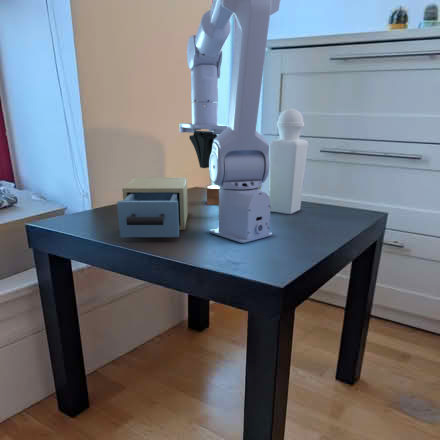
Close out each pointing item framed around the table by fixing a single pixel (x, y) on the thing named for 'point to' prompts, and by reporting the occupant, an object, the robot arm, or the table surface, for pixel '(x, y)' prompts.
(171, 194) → the drawer
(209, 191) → the block
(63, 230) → the table surface
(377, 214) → the table surface
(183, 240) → the table surface
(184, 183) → the drawer cabinet
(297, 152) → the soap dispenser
